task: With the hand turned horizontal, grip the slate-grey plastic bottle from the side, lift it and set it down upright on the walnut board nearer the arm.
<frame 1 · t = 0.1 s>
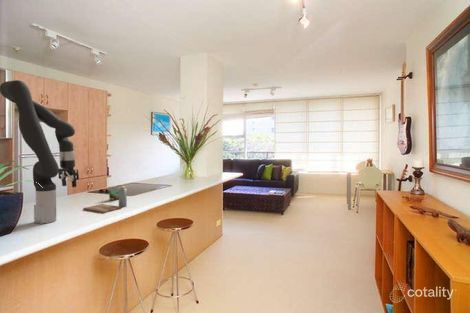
hand: (69, 186, 163), 17 cm above the table, tool pointing down, fingers open, 8 cm apart
walnut board: (102, 209, 180), on the table
food container: (117, 199, 211), on the table
slate bottle: (122, 206, 189), on the table
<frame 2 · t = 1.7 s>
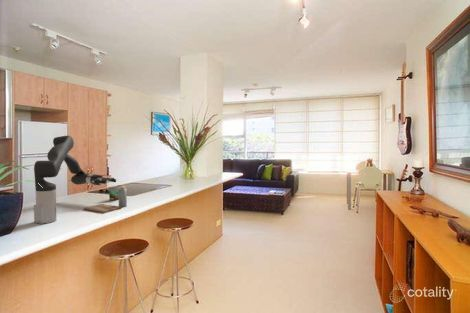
hand: (110, 181, 193), 16 cm above the table, tool horizontal, fingers open, 8 cm apart
nothing on the table moved.
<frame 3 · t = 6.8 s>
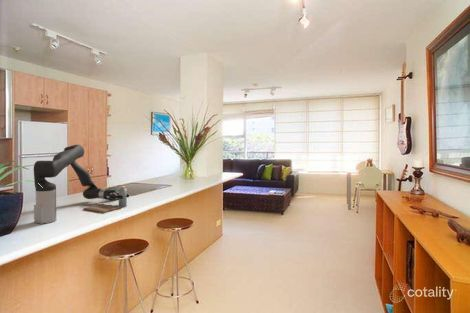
hand: (125, 196, 188), 7 cm above the table, tool horizontal, fingers closed on slate bottle, 5 cm apart
slate bottle: (122, 206, 189), on the table, touching gripper
everything else where it was.
when the fingers open (9 cm above the table, at t = 13.1 s): slate bottle drops 1 cm, resting on walnut board.
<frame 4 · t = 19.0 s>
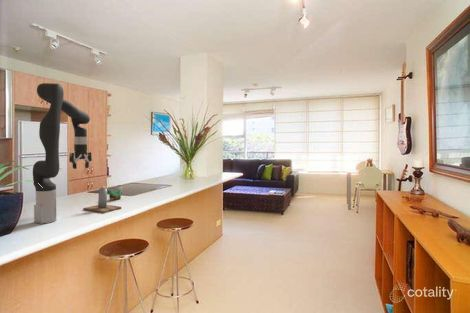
hand: (80, 168, 183), 26 cm above the table, tool pointing down, fingers open, 8 cm apart
slate bottle: (102, 207, 180), point 1 cm above the table, touching walnut board
everything else where it was.
at the end: slate bottle inside the target area on the walnut board (0.1 cm from its centre), point 1.3 cm above the walnut board's base; slate bottle tilted 2°; the gripper is holding nothing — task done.
